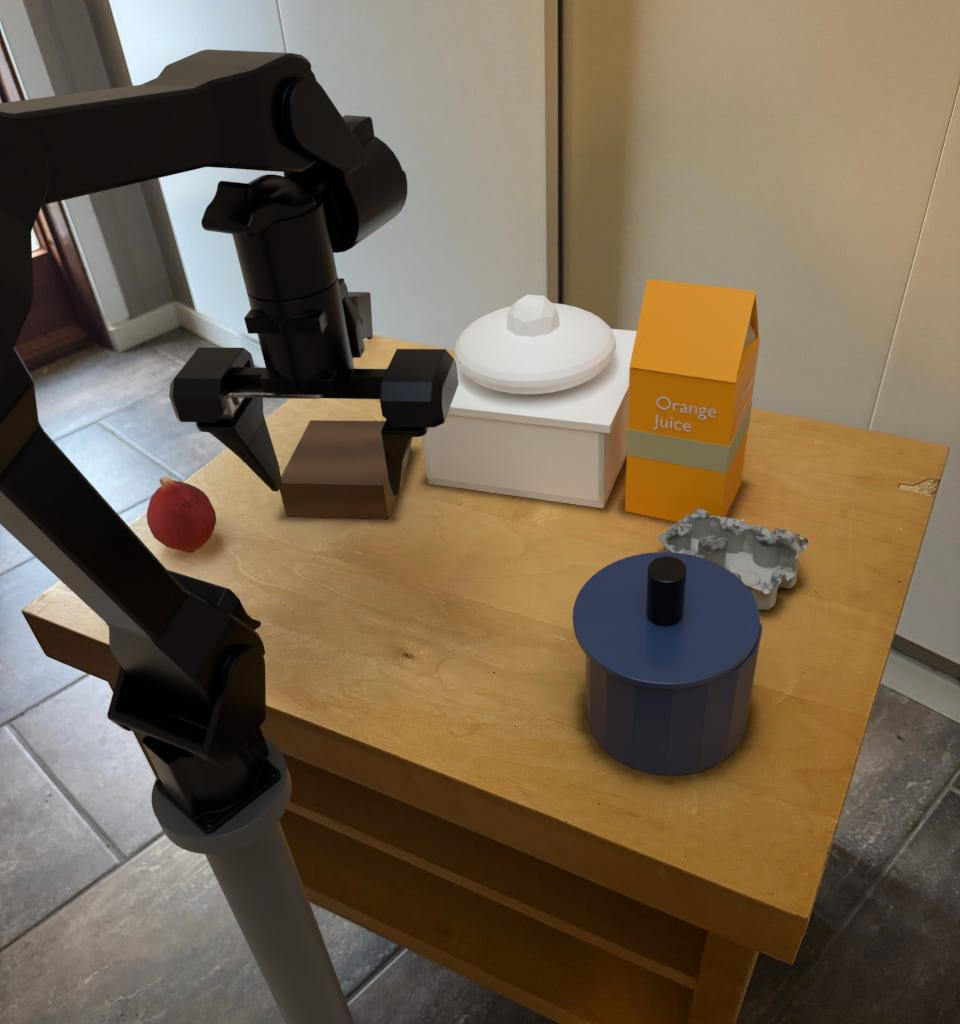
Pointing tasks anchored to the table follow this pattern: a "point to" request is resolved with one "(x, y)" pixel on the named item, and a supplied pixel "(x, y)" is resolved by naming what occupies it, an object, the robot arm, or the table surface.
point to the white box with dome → (536, 406)
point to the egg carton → (740, 551)
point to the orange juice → (690, 398)
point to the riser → (338, 472)
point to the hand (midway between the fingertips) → (337, 490)
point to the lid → (666, 620)
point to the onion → (180, 516)
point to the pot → (670, 719)
